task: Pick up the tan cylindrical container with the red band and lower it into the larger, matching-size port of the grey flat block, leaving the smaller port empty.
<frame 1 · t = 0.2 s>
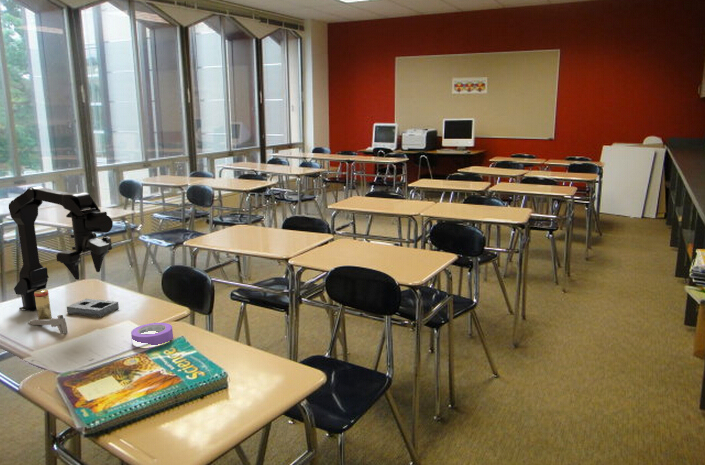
hand: (88, 275, 180), 14 cm above the table, tool pointing down, fingers open, 9 cm apart
tan cylindrical container: (45, 319, 180), on the table
grey flat block: (93, 310, 188), on the table
caliper: (47, 329, 173), on the table
masking tape: (153, 341, 162), on the table
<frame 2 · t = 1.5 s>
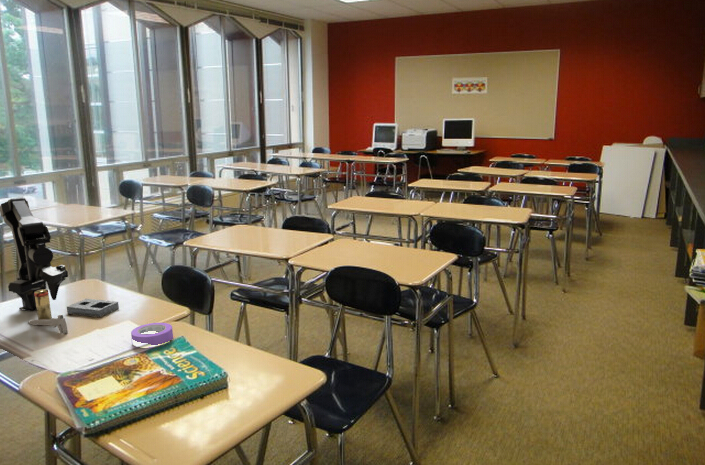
hand: (42, 304, 179), 5 cm above the table, tool pointing down, fingers open, 9 cm apart
nothing on the table moved.
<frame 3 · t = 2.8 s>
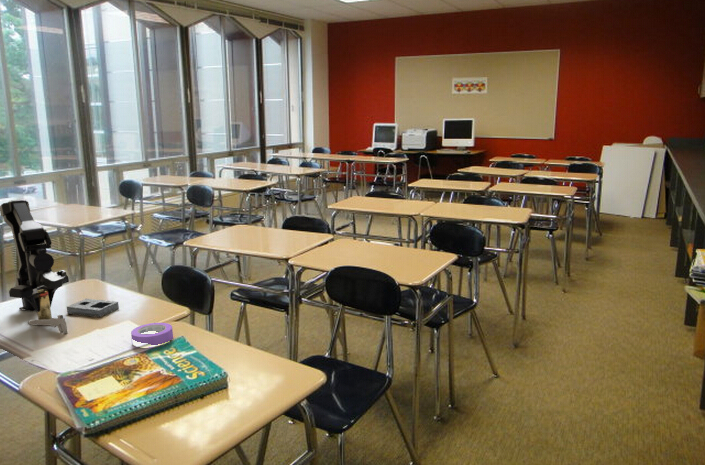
hand: (43, 309, 180), 4 cm above the table, tool pointing down, fingers closed on tan cylindrical container, 4 cm apart
tan cylindrical container: (45, 319, 180), on the table, touching gripper
everything else where it was.
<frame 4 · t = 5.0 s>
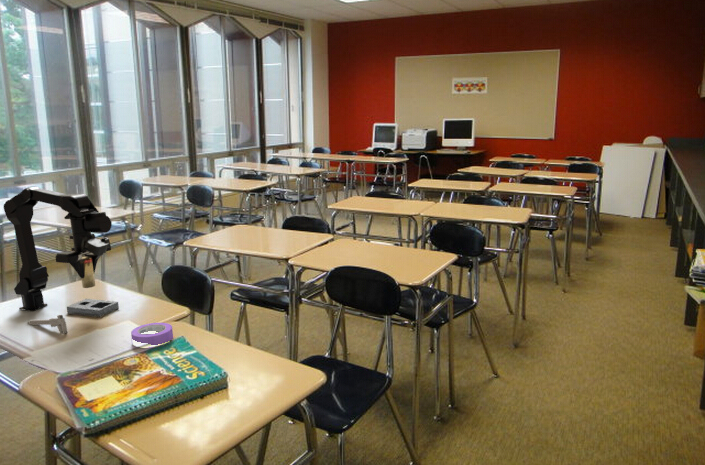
hand: (87, 276, 182), 13 cm above the table, tool pointing down, fingers closed on tan cylindrical container, 4 cm apart
tan cylindrical container: (89, 286, 183), point 10 cm above the table, touching gripper
everything else where it was.
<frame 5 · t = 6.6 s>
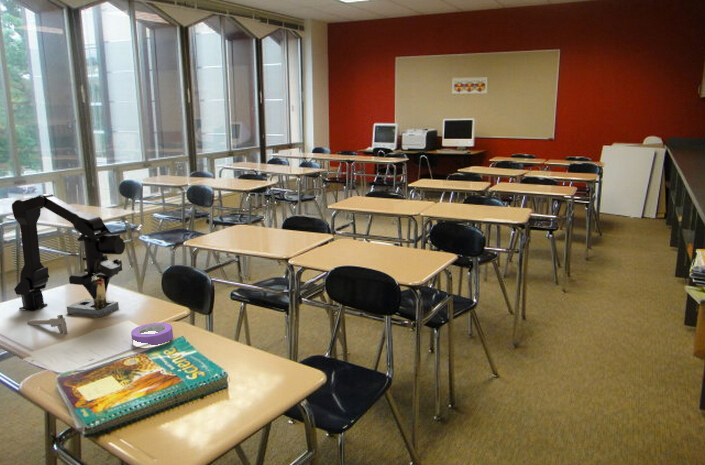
hand: (99, 296, 185), 6 cm above the table, tool pointing down, fingers closed on tan cylindrical container, 4 cm apart
tan cylindrical container: (100, 306, 186), point 2 cm above the table, touching gripper
everything else where it was.
when the fingers open (4 cm above the table, at t = 7.6 s): tan cylindrical container stays where it is, resting in grey flat block.
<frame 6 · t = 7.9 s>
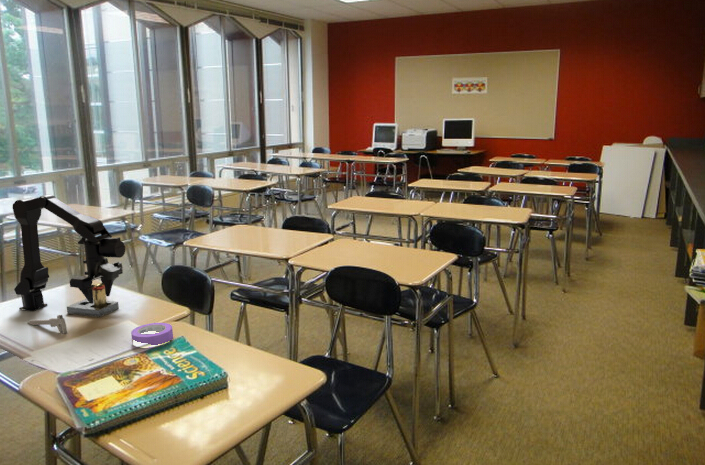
hand: (99, 299, 186), 4 cm above the table, tool pointing down, fingers open, 7 cm apart
tan cylindrical container: (101, 311, 187), resting in grey flat block
everything else where it was.
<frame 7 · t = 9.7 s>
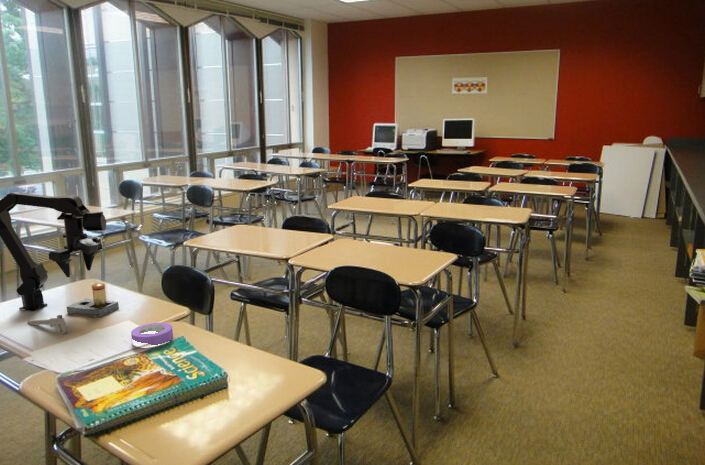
hand: (78, 273, 192), 12 cm above the table, tool pointing down, fingers open, 9 cm apart
nothing on the table moved.
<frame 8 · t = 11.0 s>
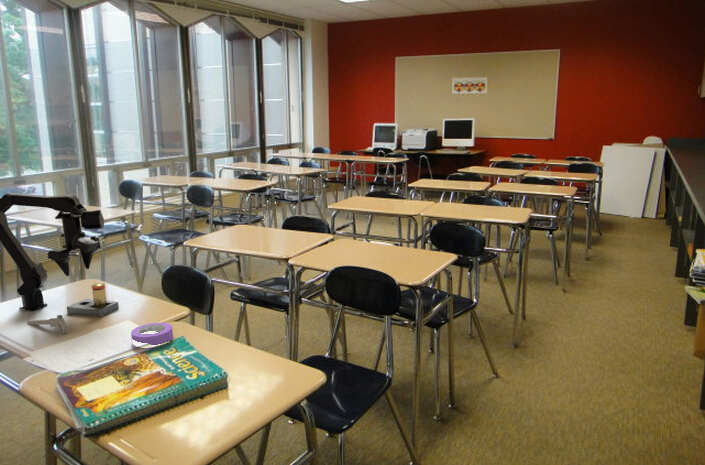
hand: (77, 272, 193), 12 cm above the table, tool pointing down, fingers open, 9 cm apart
nothing on the table moved.
at the end: tan cylindrical container 0.0 cm from the target spot on the grey flat block, point 0.0 cm above the grey flat block's base; tan cylindrical container tilted 0°; the gripper is holding nothing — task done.
